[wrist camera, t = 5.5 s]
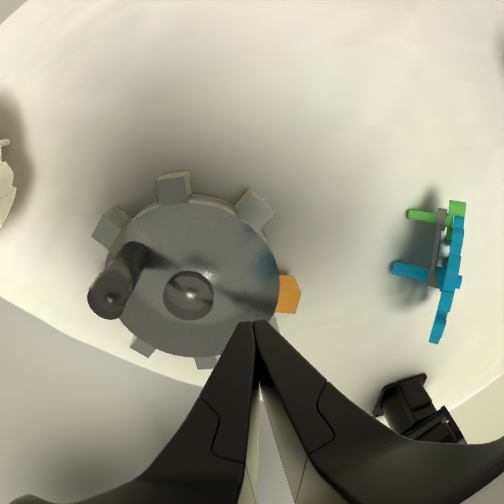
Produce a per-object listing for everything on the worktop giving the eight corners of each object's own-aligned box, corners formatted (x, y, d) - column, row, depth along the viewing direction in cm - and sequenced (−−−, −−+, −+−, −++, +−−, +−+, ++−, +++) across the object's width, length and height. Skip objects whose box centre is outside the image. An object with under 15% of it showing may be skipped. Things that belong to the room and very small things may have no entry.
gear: (449, 314, 23) (438, 371, 15) (396, 301, 26) (365, 350, 19) (469, 200, 20) (478, 208, 12) (410, 191, 23) (387, 194, 16)
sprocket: (333, 257, 20) (380, 321, 13) (214, 371, 23) (214, 444, 16) (171, 126, 15) (131, 124, 8) (73, 284, 19) (27, 346, 12)
